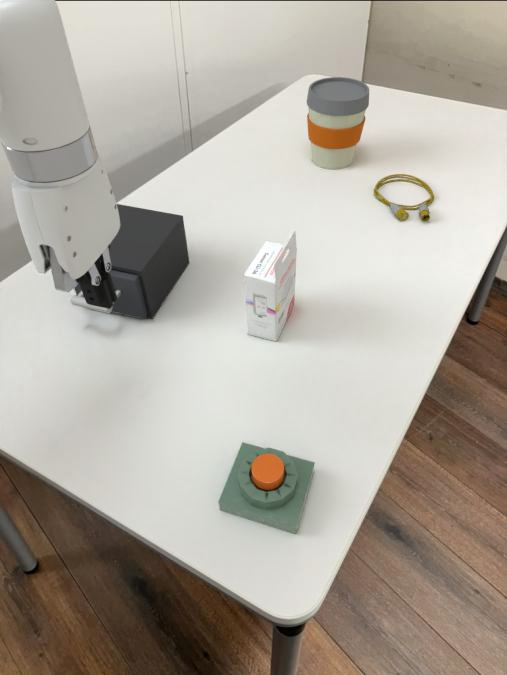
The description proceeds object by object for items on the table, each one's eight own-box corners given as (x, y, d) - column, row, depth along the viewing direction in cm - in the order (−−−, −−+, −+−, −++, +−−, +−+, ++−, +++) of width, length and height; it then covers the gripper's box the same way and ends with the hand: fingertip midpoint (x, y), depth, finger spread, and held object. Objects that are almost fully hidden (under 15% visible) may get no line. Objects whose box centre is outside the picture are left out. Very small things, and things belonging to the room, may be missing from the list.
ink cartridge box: (265, 298, 82) (265, 221, 71) (295, 306, 81) (299, 228, 70) (245, 334, 77) (241, 257, 66) (276, 343, 75) (277, 265, 65)
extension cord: (362, 214, 98) (364, 205, 96) (381, 175, 108) (383, 166, 106) (427, 227, 94) (429, 218, 93) (440, 185, 104) (443, 176, 103)
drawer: (131, 339, 75) (120, 300, 70) (64, 322, 78) (48, 284, 72) (180, 266, 87) (174, 227, 81) (121, 253, 90) (111, 215, 84)
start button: (247, 485, 56) (246, 477, 55) (257, 457, 59) (257, 449, 57) (278, 494, 55) (278, 487, 54) (287, 466, 58) (288, 458, 56)
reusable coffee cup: (292, 161, 112) (294, 90, 101) (325, 140, 119) (330, 72, 108) (339, 179, 107) (347, 107, 96) (371, 156, 113) (382, 86, 102)
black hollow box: (152, 319, 80) (141, 271, 73) (82, 302, 82) (64, 255, 75) (189, 262, 89) (182, 215, 82) (125, 249, 92) (113, 203, 85)
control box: (219, 510, 58) (217, 494, 55) (242, 451, 63) (241, 433, 60) (295, 534, 56) (297, 519, 53) (313, 471, 61) (315, 454, 58)
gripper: (60, 111, 51) (104, 257, 64) (-39, 189, 41) (37, 341, 55) (128, 119, 49) (158, 267, 63) (41, 202, 40) (99, 356, 53)
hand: (102, 301), depth 59 cm, fingers closed
